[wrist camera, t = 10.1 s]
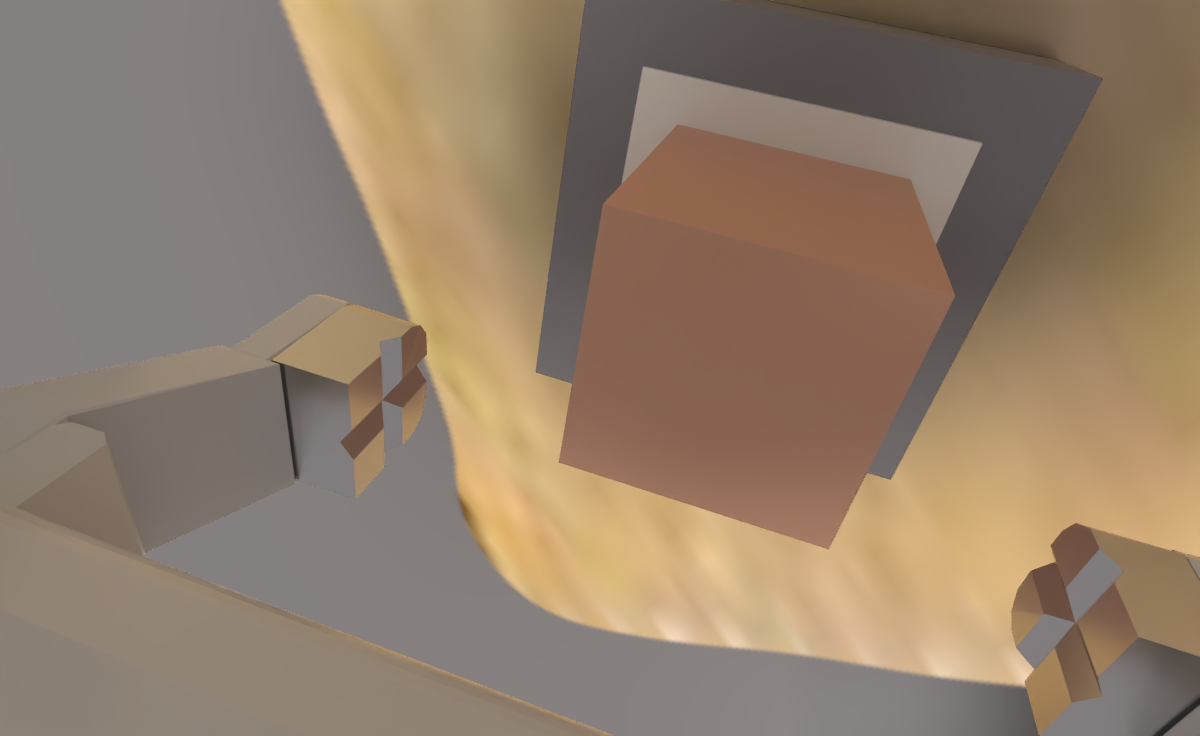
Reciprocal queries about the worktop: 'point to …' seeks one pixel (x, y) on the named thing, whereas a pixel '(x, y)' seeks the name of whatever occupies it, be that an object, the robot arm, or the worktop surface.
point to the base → (815, 138)
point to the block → (752, 330)
